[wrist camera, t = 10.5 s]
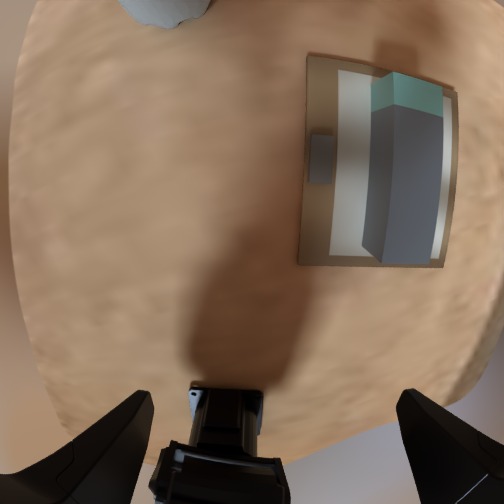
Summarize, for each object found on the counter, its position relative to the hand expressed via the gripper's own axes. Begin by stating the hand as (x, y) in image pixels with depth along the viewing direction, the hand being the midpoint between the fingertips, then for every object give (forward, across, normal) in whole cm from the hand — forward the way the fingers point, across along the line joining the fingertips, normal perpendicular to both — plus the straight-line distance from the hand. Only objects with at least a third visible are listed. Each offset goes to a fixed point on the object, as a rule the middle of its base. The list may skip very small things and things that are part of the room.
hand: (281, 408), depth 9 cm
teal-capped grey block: (+11, -8, -8) cm, 16 cm away
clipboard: (+12, -8, -8) cm, 16 cm away
